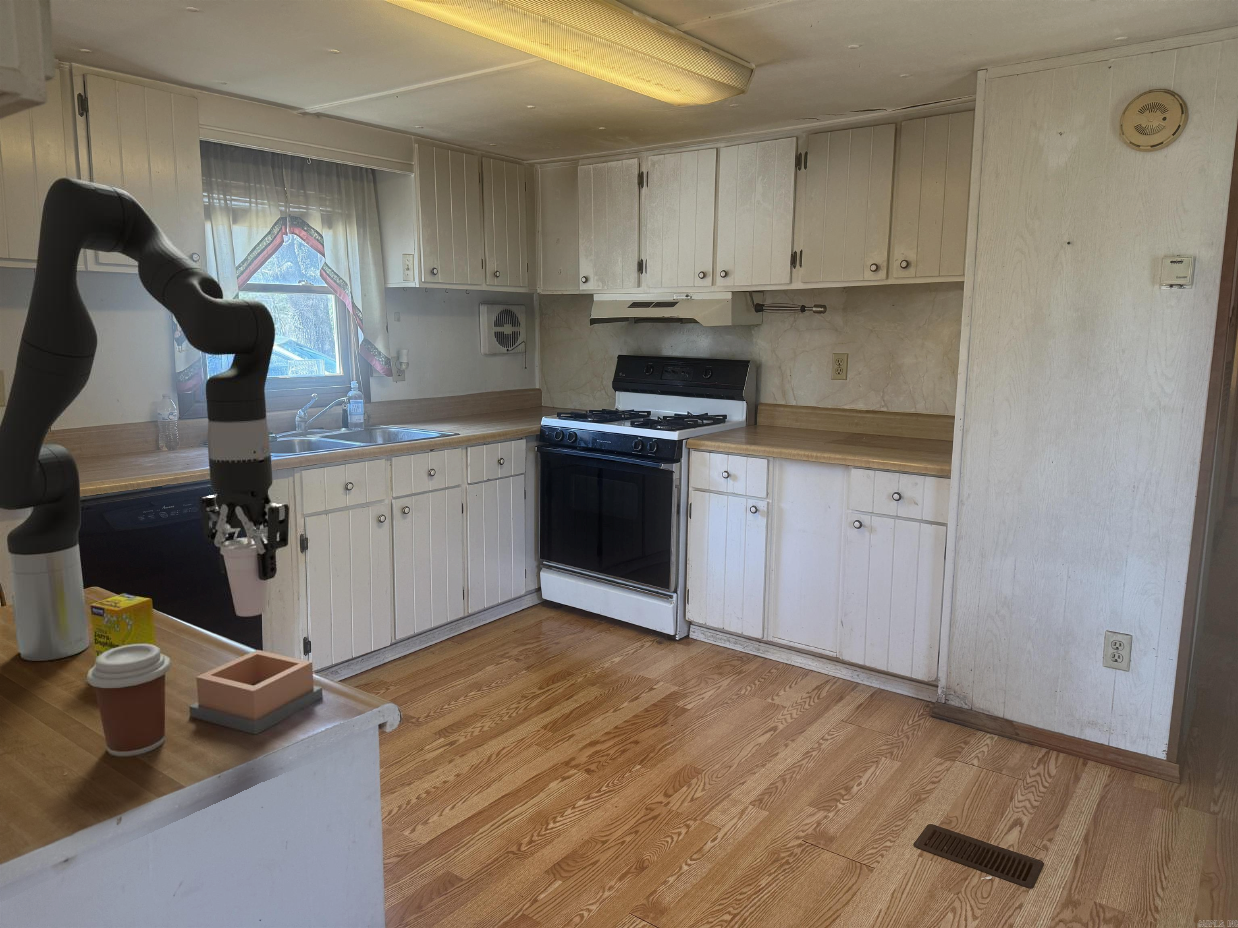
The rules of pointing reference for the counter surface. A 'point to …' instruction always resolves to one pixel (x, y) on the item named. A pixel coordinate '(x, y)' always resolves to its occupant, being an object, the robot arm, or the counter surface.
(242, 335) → the robot arm
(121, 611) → the supplement box
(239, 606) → the smoothie
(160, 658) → the coffee cup
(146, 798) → the counter surface
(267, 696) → the socket
